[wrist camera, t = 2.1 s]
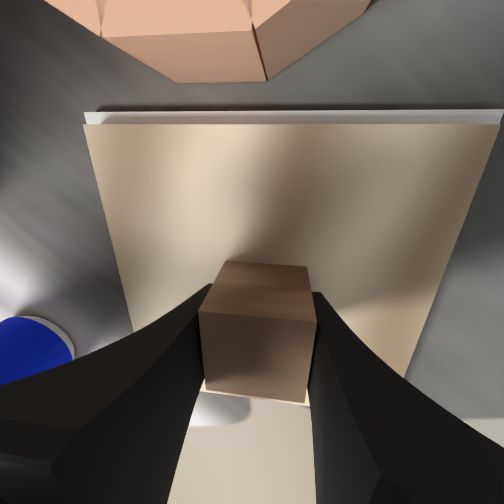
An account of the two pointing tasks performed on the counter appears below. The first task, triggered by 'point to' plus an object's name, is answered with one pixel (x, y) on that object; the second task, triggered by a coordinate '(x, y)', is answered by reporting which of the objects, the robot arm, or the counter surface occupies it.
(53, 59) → the counter surface
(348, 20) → the bowl
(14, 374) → the beverage can
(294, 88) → the counter surface
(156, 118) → the mat
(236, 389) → the lid
